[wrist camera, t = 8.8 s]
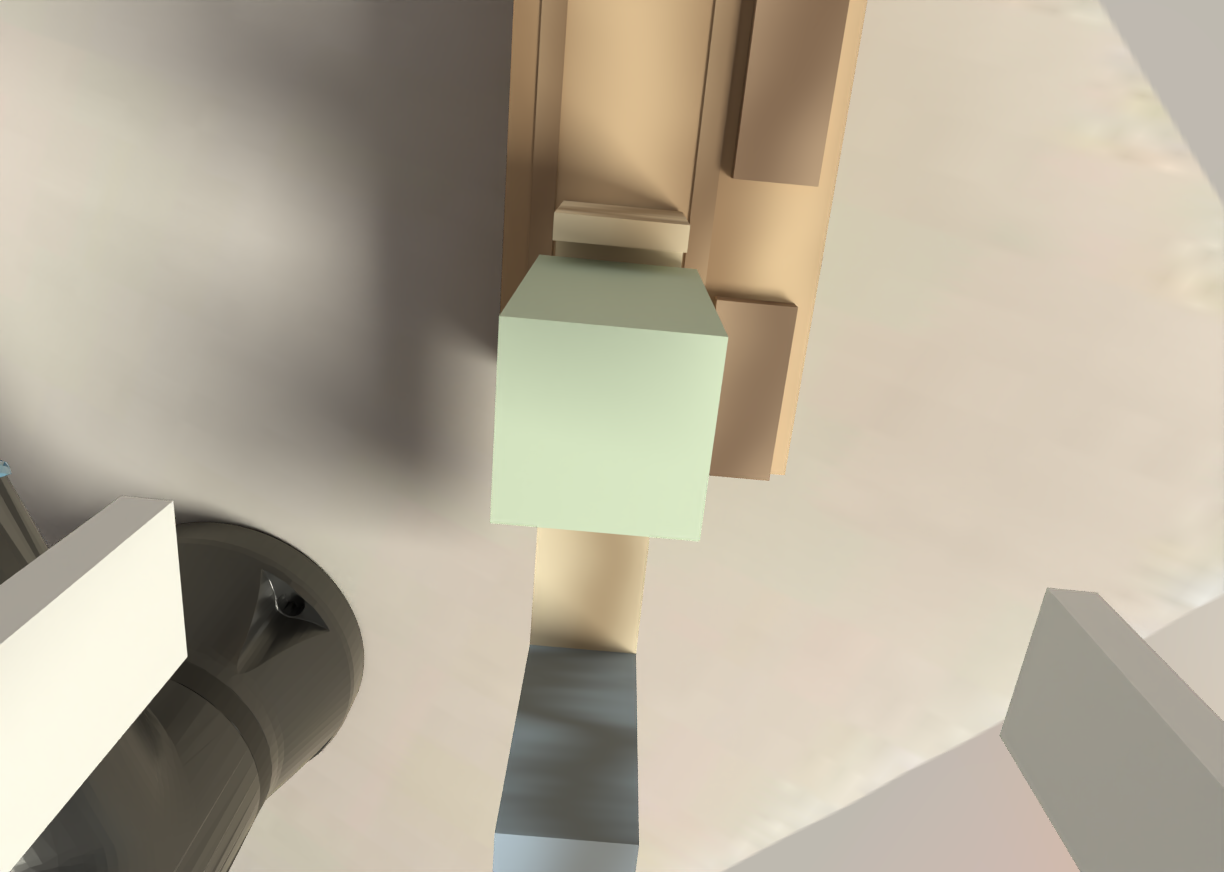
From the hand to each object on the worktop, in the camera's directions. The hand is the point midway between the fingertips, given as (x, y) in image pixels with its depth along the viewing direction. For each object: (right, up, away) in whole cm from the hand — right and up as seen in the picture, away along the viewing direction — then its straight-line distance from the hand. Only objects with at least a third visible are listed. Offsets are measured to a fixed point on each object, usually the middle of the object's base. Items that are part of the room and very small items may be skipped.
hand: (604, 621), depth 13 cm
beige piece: (0, +1, +19) cm, 19 cm away
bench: (+2, +15, +25) cm, 29 cm away
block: (0, +6, +15) cm, 16 cm away
